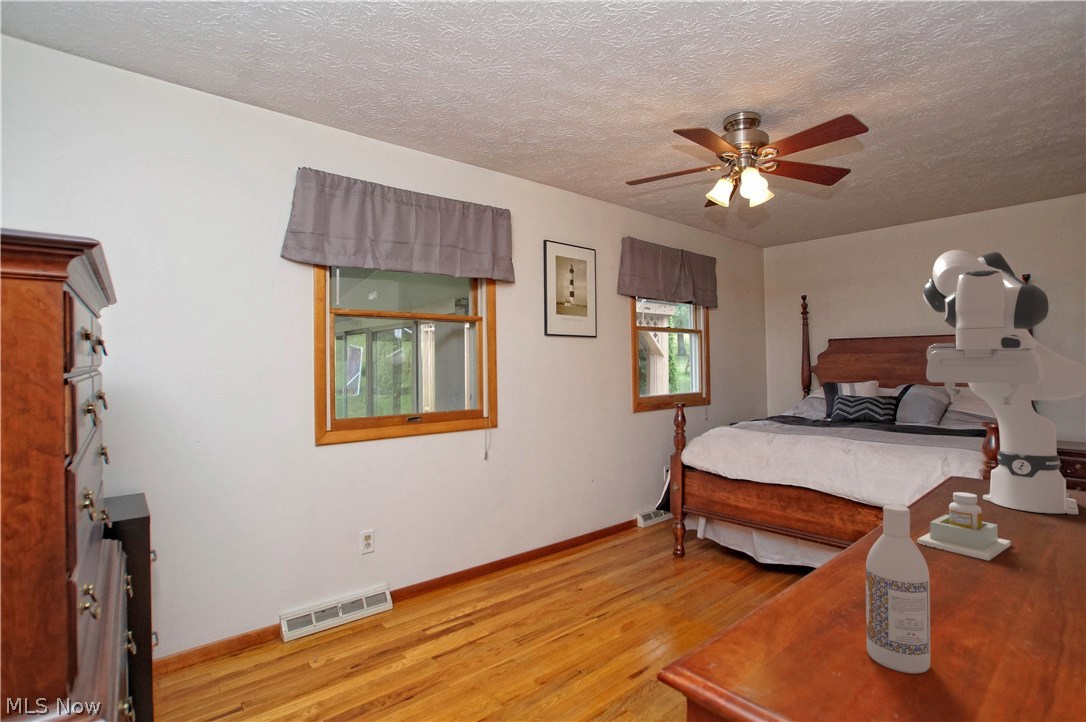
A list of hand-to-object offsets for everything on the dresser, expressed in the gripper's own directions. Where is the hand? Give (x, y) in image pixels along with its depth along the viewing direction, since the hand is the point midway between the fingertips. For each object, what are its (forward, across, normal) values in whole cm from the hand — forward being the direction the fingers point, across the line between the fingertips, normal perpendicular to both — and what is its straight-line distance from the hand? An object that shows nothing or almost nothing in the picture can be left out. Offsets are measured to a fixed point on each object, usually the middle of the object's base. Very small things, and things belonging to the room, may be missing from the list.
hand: (981, 403), depth 118 cm
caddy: (+29, 0, -12) cm, 31 cm away
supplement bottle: (+28, 0, -12) cm, 31 cm away
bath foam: (+29, +10, -71) cm, 77 cm away
